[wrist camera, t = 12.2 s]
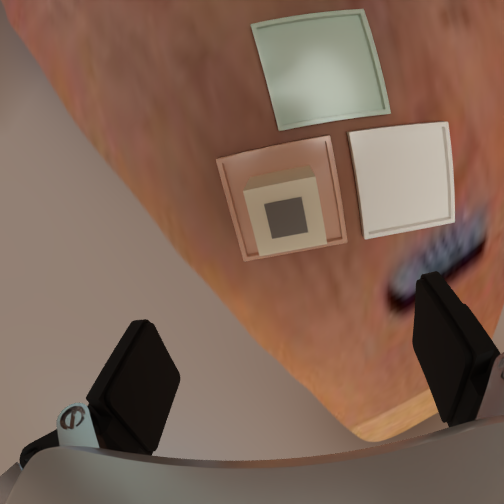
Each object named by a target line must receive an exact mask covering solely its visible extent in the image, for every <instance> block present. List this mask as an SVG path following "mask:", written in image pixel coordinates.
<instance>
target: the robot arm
mask: <svg viewBox="0 0 504 504" xmlns="http://www.w3.org/2000/svg"><path fill="white" fill-rule="evenodd" d="M412 342H413V348H414V351H415V353H416V356H417V358H418V360H419V363H420V365H421V368H422V370H423V372H424V375H425V377H426V380H427V382H428V385H429V387H430V390H431V393H432V395H433V398H434V401H435V403H436V406H437V409H438V412H439V414H440V417H441V419H442V421H443V422H444V423H445V422H447V423H448V426H449V428H446V429H443V430H439V431H436V432H433V433H429V434H426V435H422V436H418V437H414V438H410V439H406V440H402V441H398V442H394V443H389V444H385V445H381V446H376V447H371V448H366V449H361V450H355V451H349V452H342V453H336V454H329V455H321V456H313V457H302V458H291V459H276V460H255V461H254V460H252V461H217V460H194V459H178V458H167V457H158V456H152V453H153V451H155V450H156V449H157V447H158V444H159V441H160V438H161V435H162V432H163V429H164V426H165V423H166V420H167V418H168V415H169V412H170V409H171V406H172V403H173V400H174V397H175V394H176V391H177V389H178V386H179V383H180V374H179V371H178V370H177V368H176V366H175V364H174V362H173V361H172V359H171V357H170V355H169V353H168V351H167V349H166V347H165V346H164V343H163V341H162V339H161V337H160V335H159V333H158V331H157V330H156V327H155V326H154V324H153V323H150V322H149V321H148V320H146V319H145V320H135V321H132V322H131V324H130V325H129V327H128V328H127V330H126V332H125V333H124V335H123V336H122V338H121V339H120V341H119V343H118V345H117V346H116V348H115V349H114V351H113V353H112V354H111V356H110V358H109V359H108V361H107V363H106V364H105V366H104V367H103V369H102V371H101V372H100V374H99V376H98V378H97V379H96V381H95V383H94V384H93V386H92V388H91V390H90V391H89V393H88V395H87V397H86V399H87V401H88V402H89V405H88V406H86V405H85V404H83V403H74V404H71V405H69V406H67V407H66V408H65V409H63V410H62V411H61V413H60V415H59V416H58V419H57V429H56V430H54V431H53V432H51V433H49V434H47V435H45V436H43V437H41V438H39V439H38V440H36V441H34V442H32V443H30V444H29V445H27V446H26V447H24V449H23V450H22V453H21V455H20V464H19V463H18V462H16V463H15V464H14V465H13V466H12V467H10V468H9V469H8V470H7V471H6V472H5V473H4V474H2V475H1V476H0V504H504V353H502V354H500V352H499V351H498V349H497V347H496V346H495V345H494V343H493V341H492V340H491V338H490V337H489V335H488V334H487V333H486V331H485V330H484V328H483V327H482V325H481V324H480V322H479V321H478V320H477V318H476V317H475V316H474V314H473V313H472V311H471V310H470V309H469V307H468V306H467V305H466V304H463V303H462V302H461V301H460V299H459V298H458V297H457V295H456V294H455V293H454V291H453V290H452V289H451V287H450V286H449V285H448V284H447V282H446V281H445V280H444V279H443V277H442V276H441V275H440V274H439V272H437V271H435V272H431V273H426V274H422V275H421V278H420V279H419V280H417V282H416V299H415V316H414V329H413V340H412Z"/></svg>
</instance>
